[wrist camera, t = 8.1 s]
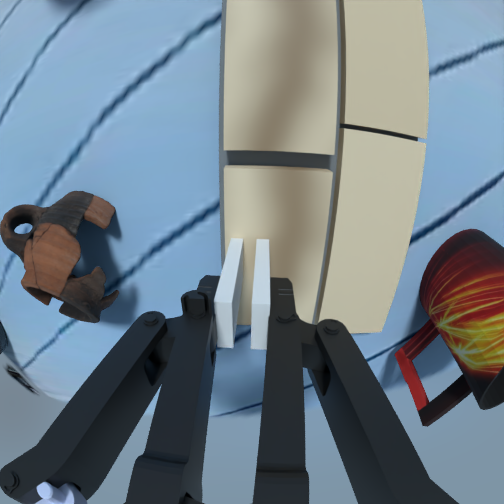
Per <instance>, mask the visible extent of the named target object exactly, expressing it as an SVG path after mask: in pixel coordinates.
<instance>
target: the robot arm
mask: <svg viewBox="0 0 504 504" xmlns="http://www.w3.org/2000/svg"><path fill="white" fill-rule="evenodd" d="M242 282H243V238H231V240H230V244H229V247H228V251H227V255H226V258H225V262H224V265H223V269H222V273H221V276H210V275H206V276H205V277H203V278H202V279H201V280H200V282H199V285H198V288H197V290H192V291H189V292H186V293H185V294H183V295H182V297H181V304H182V310H183V315H182V316H179V317H175V318H168V319H165V316H164V315H163V314H162V313H160V312H157V311H150V312H146V313H144V314H142V315H141V316H140V317H138V319H137V320H136V321H135V322H134V323H133V324H132V326H131V327H130V328H129V329H128V330H127V331H126V333H125V334H124V335H123V336H122V337H121V338H120V340H119V341H118V342H117V343H116V344H115V346H114V347H113V348H112V349H111V350H110V352H109V353H108V354H107V355H106V356H105V358H104V359H103V360H102V361H101V362H100V364H99V365H98V366H97V367H96V369H95V370H94V371H93V372H92V374H91V375H90V376H89V377H88V378H87V380H86V381H85V382H84V383H83V385H82V386H81V387H80V389H79V390H78V391H77V392H76V394H75V395H74V396H73V397H72V399H71V400H70V401H69V403H68V404H67V405H66V406H65V408H64V409H63V410H62V412H61V413H60V414H59V416H58V417H57V418H56V420H55V421H54V422H53V424H52V425H51V426H50V428H49V429H48V430H47V432H46V433H45V435H44V436H43V437H42V439H41V440H40V441H39V443H38V444H37V445H36V446H35V447H33V448H32V449H30V450H29V451H27V452H26V453H24V454H23V455H21V456H20V457H18V458H16V459H15V460H13V461H12V462H10V463H9V464H7V465H5V466H4V467H3V468H2V469H1V471H0V486H1V488H2V490H3V491H4V493H5V494H7V495H8V496H9V497H11V498H13V499H14V500H16V501H18V502H20V503H22V504H87V500H88V499H89V498H90V497H91V496H92V495H93V494H94V493H95V492H96V491H97V490H98V488H99V487H100V485H101V484H102V482H103V481H104V479H105V478H106V476H107V474H108V473H109V471H110V469H111V468H112V466H113V464H114V462H115V461H116V459H117V457H118V455H119V454H120V452H121V451H122V449H123V447H124V446H125V444H126V442H127V440H128V439H129V437H130V436H131V434H132V432H133V430H134V429H135V427H136V426H137V424H138V422H139V420H140V419H141V417H142V416H143V414H144V412H145V411H146V409H147V407H148V406H149V404H150V402H151V401H152V399H153V397H154V396H155V394H156V392H157V391H158V389H159V387H160V386H161V384H162V386H161V389H160V393H159V396H158V400H157V404H156V408H155V412H154V415H153V419H152V423H151V427H150V431H149V435H148V439H147V444H146V448H145V451H144V453H143V455H141V456H139V457H138V458H137V459H136V461H135V464H134V467H133V471H132V475H131V480H130V485H129V489H128V494H127V498H126V502H125V503H124V504H204V503H202V471H203V462H204V452H205V443H206V435H207V425H208V417H209V409H210V400H211V392H212V384H213V376H214V368H215V361H216V343H217V347H224V348H233V347H234V340H235V332H236V325H237V318H238V311H239V303H240V296H241V289H242ZM6 347H7V338H6V335H5V332H4V330H3V328H2V325H1V323H0V354H1V353H2V352H3V350H4V349H5V348H6ZM251 349H264V350H267V353H266V365H265V378H264V391H263V403H262V414H261V426H260V437H259V448H258V457H257V468H256V477H255V486H254V495H253V504H309V476H308V472H307V471H306V467H305V412H304V385H303V367H304V368H308V372H309V375H310V378H311V380H312V383H313V385H314V388H315V391H316V393H317V396H318V398H319V401H320V404H321V406H322V409H323V411H324V414H325V417H326V419H327V421H328V424H329V427H330V430H331V432H332V435H333V437H334V440H335V442H336V445H337V448H338V451H339V453H340V456H341V459H342V461H343V464H344V466H345V469H346V472H347V475H348V477H349V480H350V483H351V485H352V488H353V491H354V493H355V496H356V499H357V502H358V504H459V503H458V502H456V501H455V500H454V499H453V498H452V497H451V496H449V495H448V494H447V493H446V492H445V491H443V490H442V489H441V488H440V487H439V486H438V485H437V484H435V483H434V482H433V481H432V480H431V479H430V478H429V476H428V474H427V472H426V470H425V468H424V466H423V464H422V462H421V460H420V458H419V456H418V454H417V452H416V450H415V448H414V446H413V444H412V442H411V440H410V438H409V436H408V435H407V433H406V431H405V429H404V427H403V425H402V423H401V422H400V420H399V418H398V416H397V415H396V412H395V411H394V409H393V407H392V405H391V403H390V402H389V400H388V398H387V396H386V394H385V393H384V391H383V389H382V387H381V386H380V384H379V382H378V380H377V379H376V377H375V375H374V373H373V372H372V370H371V368H370V366H369V365H368V363H367V361H366V360H365V358H364V356H363V355H362V353H361V351H360V349H359V348H358V346H357V344H356V343H355V341H354V339H353V338H352V336H351V334H350V333H349V331H348V330H347V328H346V326H345V325H344V324H343V323H342V322H340V321H338V320H335V319H324V320H321V321H320V322H319V323H318V324H317V325H314V324H310V323H307V322H305V321H303V320H301V319H300V318H299V316H298V314H297V313H296V307H295V299H294V292H293V285H292V282H291V281H290V280H289V279H288V278H277V277H270V259H269V239H257V242H256V255H255V268H254V281H253V294H252V318H251Z"/></svg>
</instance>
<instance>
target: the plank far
mask: <svg viewBox="0 0 504 504" xmlns="http://www.w3.org/2000/svg"><path fill="white" fill-rule="evenodd" d="M332 178H333V172H331V171H330V170H328V169H321V168H306V167H287V166H257V165H226V166H225V167H224V223H225V258H226V255H227V251H228V247H229V244H230V240H231V238H243V282H242V289H241V296H240V303H239V311H238V318H237V325H251V318H252V294H253V281H254V268H255V255H256V242H257V239H269V259H270V277H277V278H288V279H289V280H290V281H291V282H292V285H293V292H294V299H295V307H296V313H297V314H298V316H299V318H300V319H301V320H303V321H305V322H307V323H310V324H312V320H313V315H314V309H315V304H316V298H317V292H318V286H319V280H320V274H321V268H322V261H323V254H324V247H325V240H326V232H327V224H328V216H329V207H330V198H331V188H332Z"/></svg>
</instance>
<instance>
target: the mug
mask: <svg viewBox="0 0 504 504" xmlns="http://www.w3.org/2000/svg"><path fill="white" fill-rule="evenodd" d="M420 301H421V304H422V306H423V308H424V309H425V311H426V313H427V314H428V316H429V317H430V319H429V320H428V322H427V323H426V324H425V325H424V326H423V327H422V328H421V329H420V330H419V331H418V332H417V333H416V334H415V335H414V336H413V337H412V338H411V339H410V340H409V341H408V342H407V343H406V344H405V345H404V346H403V347H402V348H401V349H400V350H398V351H397V352H396V353H395V357H396V359H397V361H398V364H399V366H400V369H401V371H402V374H403V376H404V379H405V381H406V382H407V384H408V386H409V389H410V392H411V394H412V397H413V399H414V402H415V405H416V408H417V411H418V413H419V416H420V419H421V422H422V425H423V426H429V425H431V424H432V423H433V422H435V421H436V420H438V419H439V418H440V417H442V416H443V415H444V414H446V413H447V412H448V411H450V410H451V409H452V408H453V407H455V406H456V405H457V404H458V403H460V402H461V401H462V400H463V399H464V398H466V397H467V396H468V395H469V394H470V393H471V392H473V395H474V396H475V399H476V400H477V403H478V405H479V407H480V409H483V410H485V409H490V408H493V407H495V406H498V405H499V404H501V403H503V402H504V247H502V246H501V245H500V244H498V243H497V242H496V241H495V240H493V239H492V238H490V237H489V236H488V235H486V234H485V233H484V232H482V231H480V230H477V229H468V230H463V231H461V232H459V233H456V234H455V235H453V236H452V237H450V238H449V239H447V240H446V241H445V242H444V243H443V244H442V245H441V246H440V247H439V249H438V250H437V251H436V252H435V254H434V255H433V256H432V258H431V260H430V261H429V263H428V265H427V267H426V269H425V271H424V274H423V277H422V280H421V285H420ZM439 334H440V335H441V336H442V338H443V340H444V341H445V343H446V345H447V346H448V348H449V350H450V351H451V353H452V355H453V357H454V358H455V360H456V362H457V364H458V366H459V367H460V369H461V371H462V373H463V375H461V376H460V377H459V378H458V379H457V380H456V381H455V382H454V383H452V384H451V385H450V386H449V387H448V388H447V389H446V390H445V391H443V392H442V393H441V394H440V395H438V396H437V397H436V398H435V399H433V400H432V401H431V402H430V403H429V400H428V398H427V395H426V393H425V390H424V388H423V386H422V383H421V381H420V378H419V376H418V374H417V371H416V369H415V367H414V365H413V362H412V360H413V359H414V358H415V357H416V356H417V355H418V354H420V353H421V352H422V351H423V350H424V349H425V348H426V347H427V346H428V345H429V344H430V343H431V342H432V341H433V340H434V339H435V338H436V337H437V336H438V335H439Z"/></svg>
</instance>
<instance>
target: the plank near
mask: <svg viewBox="0 0 504 504" xmlns="http://www.w3.org/2000/svg"><path fill="white" fill-rule="evenodd" d="M337 92H338V37H337V12H336V0H227V9H226V33H225V67H224V150H255V151H285V152H303V153H317V154H328V155H334V153H335V138H336V120H337Z"/></svg>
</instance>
